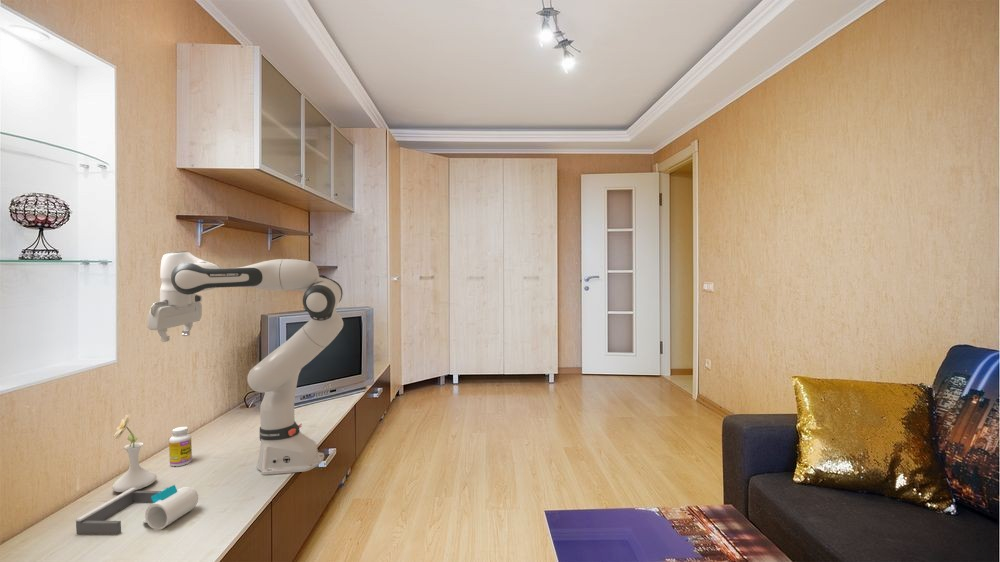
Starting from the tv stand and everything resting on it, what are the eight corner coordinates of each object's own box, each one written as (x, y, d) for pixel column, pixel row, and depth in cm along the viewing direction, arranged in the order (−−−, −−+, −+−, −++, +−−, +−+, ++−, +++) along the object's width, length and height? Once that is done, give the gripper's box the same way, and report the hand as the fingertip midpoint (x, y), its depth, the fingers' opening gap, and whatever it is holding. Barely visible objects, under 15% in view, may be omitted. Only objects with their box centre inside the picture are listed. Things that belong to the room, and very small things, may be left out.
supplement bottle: (180, 467, 160) (179, 432, 159) (165, 466, 161) (163, 431, 161) (196, 460, 166) (195, 426, 166) (181, 458, 167) (180, 425, 167)
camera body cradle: (168, 500, 136) (167, 487, 136) (117, 534, 119) (116, 519, 119) (132, 500, 137) (131, 487, 137) (76, 534, 120) (75, 519, 120)
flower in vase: (120, 483, 149) (116, 409, 148) (161, 476, 153) (158, 404, 152) (103, 501, 137) (100, 421, 136) (149, 493, 141) (145, 415, 141)
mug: (195, 473, 133) (159, 493, 121) (207, 501, 132) (172, 524, 121) (164, 487, 134) (125, 508, 122) (175, 514, 134) (138, 539, 122)
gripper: (161, 303, 141) (161, 345, 142) (205, 295, 161) (205, 333, 163) (141, 301, 141) (141, 344, 142) (188, 294, 162) (188, 332, 163)
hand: (175, 338), depth 153 cm, fingers open, 8 cm apart
